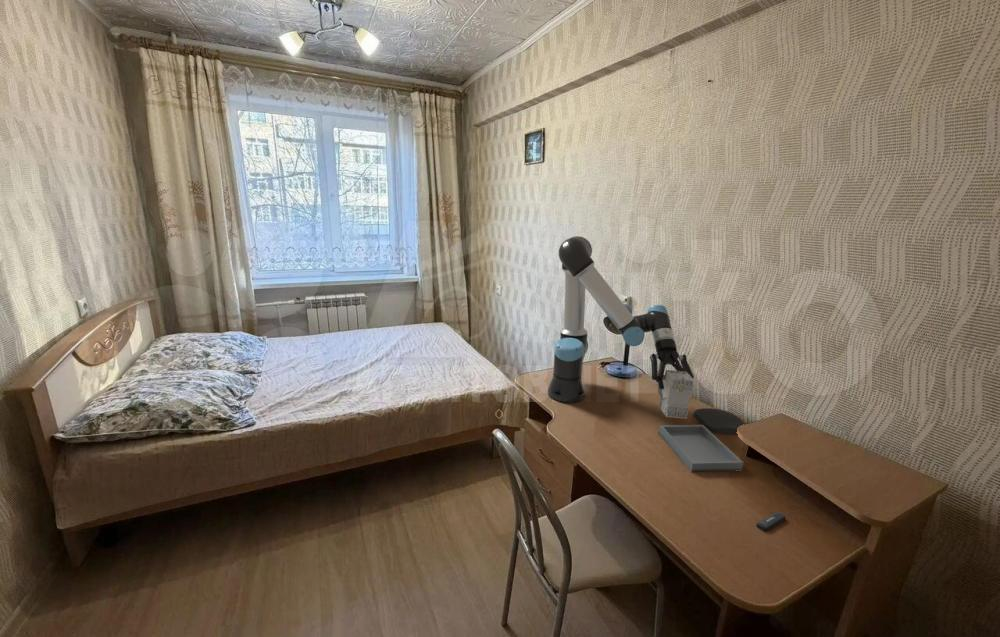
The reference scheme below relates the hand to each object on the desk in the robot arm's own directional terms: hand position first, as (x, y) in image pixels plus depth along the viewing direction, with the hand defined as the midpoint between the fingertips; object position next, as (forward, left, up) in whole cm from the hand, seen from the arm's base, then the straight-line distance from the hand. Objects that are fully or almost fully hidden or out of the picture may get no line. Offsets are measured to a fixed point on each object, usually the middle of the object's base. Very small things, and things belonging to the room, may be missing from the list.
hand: (677, 397), depth 149 cm
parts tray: (+19, -2, -10) cm, 21 cm away
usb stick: (+51, 0, -10) cm, 52 cm away
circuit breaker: (-3, 0, -6) cm, 7 cm away
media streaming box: (+2, +16, -10) cm, 19 cm away
